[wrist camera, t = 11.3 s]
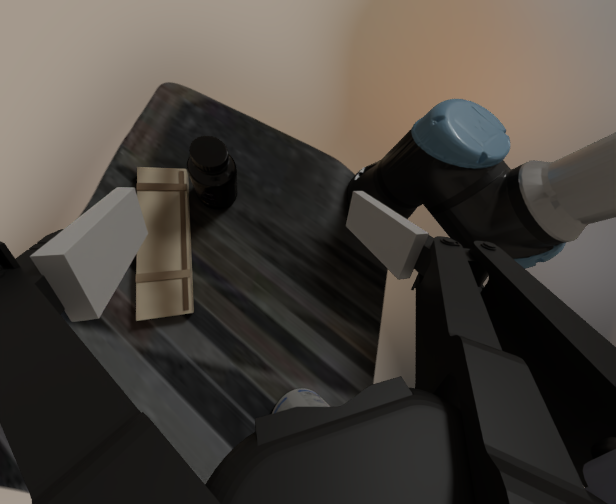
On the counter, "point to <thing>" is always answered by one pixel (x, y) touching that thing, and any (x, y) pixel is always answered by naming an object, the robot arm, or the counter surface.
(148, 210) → the birch board
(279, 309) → the counter surface
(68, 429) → the robot arm
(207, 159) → the supplement bottle
